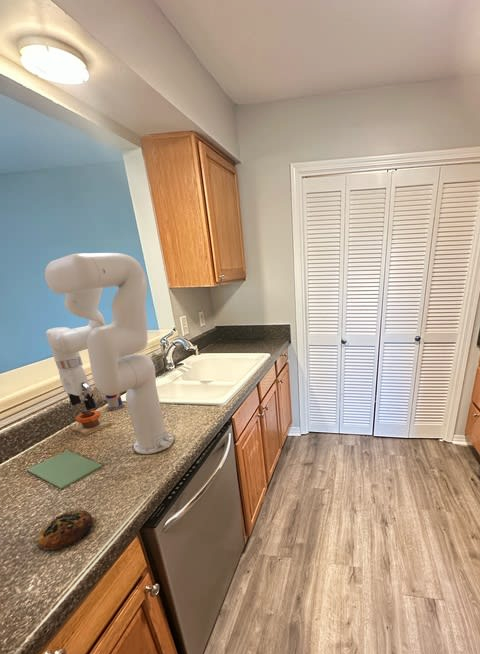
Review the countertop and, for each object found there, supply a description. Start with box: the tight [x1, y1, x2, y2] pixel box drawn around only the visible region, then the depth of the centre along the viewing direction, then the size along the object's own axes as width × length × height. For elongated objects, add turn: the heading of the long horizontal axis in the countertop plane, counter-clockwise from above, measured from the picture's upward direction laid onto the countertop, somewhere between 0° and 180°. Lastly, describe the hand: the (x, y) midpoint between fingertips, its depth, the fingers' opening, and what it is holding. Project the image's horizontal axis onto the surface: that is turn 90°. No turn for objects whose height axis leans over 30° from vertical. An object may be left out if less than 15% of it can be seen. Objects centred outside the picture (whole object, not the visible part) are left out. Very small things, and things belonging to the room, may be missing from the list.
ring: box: [75, 410, 101, 424], centre depth 123 cm, size 8×8×1 cm
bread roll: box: [36, 509, 94, 551], centre depth 75 cm, size 11×11×5 cm
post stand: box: [72, 408, 111, 436], centre depth 124 cm, size 9×9×8 cm
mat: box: [26, 449, 103, 490], centre depth 100 cm, size 20×12×1 cm, turn 61°
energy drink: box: [104, 393, 124, 411], centre depth 140 cm, size 5×5×12 cm
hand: (83, 406), depth 122 cm, fingers open, 9 cm apart
